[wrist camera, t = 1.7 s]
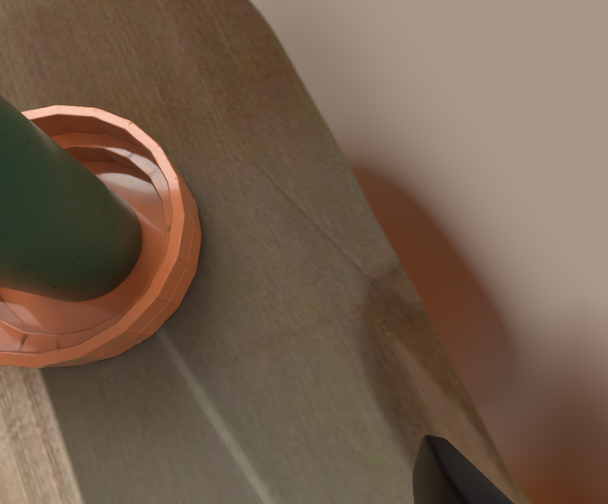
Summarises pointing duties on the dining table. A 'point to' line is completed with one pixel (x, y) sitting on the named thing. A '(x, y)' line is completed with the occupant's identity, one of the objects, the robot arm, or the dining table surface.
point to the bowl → (148, 269)
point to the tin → (58, 219)
